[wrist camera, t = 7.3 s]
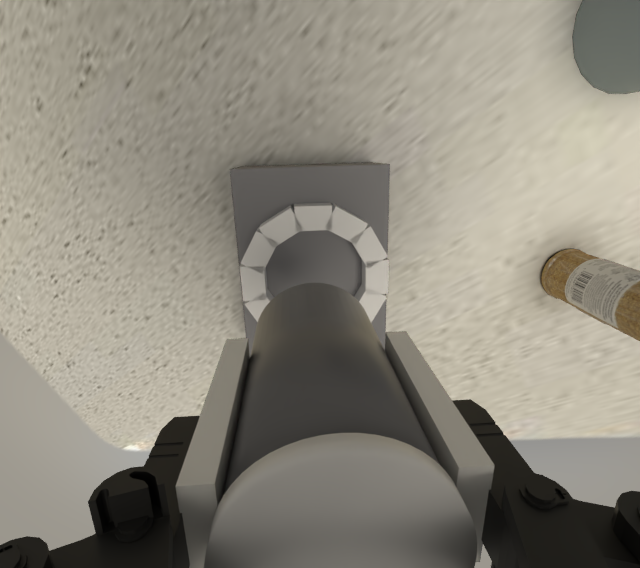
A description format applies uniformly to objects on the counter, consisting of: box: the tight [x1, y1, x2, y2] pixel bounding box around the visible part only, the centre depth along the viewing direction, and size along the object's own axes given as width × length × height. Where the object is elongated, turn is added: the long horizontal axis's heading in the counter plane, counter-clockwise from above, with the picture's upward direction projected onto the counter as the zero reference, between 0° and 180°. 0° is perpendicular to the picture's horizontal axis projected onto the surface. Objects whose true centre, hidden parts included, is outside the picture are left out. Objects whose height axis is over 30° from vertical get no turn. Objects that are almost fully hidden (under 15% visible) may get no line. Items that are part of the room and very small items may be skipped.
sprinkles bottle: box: [541, 249, 640, 341], centre depth 28 cm, size 5×5×13 cm
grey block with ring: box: [230, 162, 390, 356], centre depth 29 cm, size 14×10×8 cm
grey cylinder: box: [204, 283, 477, 568], centre depth 12 cm, size 5×5×10 cm
